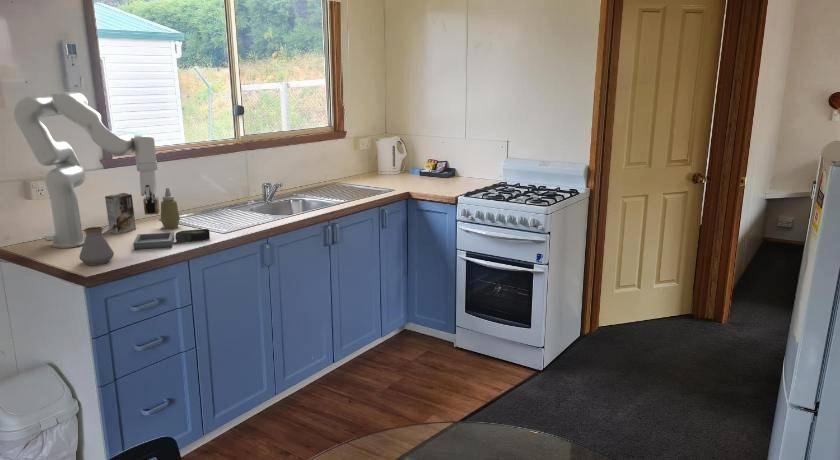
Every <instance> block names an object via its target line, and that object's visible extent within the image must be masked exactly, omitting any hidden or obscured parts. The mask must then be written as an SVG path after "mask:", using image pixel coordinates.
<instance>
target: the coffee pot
mask: <svg viewBox="0 0 840 460" xmlns="http://www.w3.org/2000/svg"><path fill="white" fill-rule="evenodd" d="M131 217H132V216H129V217H128V218H125V220H122V221H120V222H119V223H117V224H116V225H115V226H113V227H112V228H111V229H109V228H108V229H107V230H106V231H104V228H103V227H102V226H92V227H91V226H90V227H86V228H84V229H83V232H85V235H86V236H85V237H84V238H85V241H84V244H83V245H82V247H81V251H80V253H79V260H80V261H82V263H84V264H86V265H87V264H88V265H87V266H100V265H99V264H101V265H105V264H107V262H108V263H109V262H110V261H111V259H112V258H113V257H114V255H115V252H114V250H113V249H112V247H111V246H110V245H109V242H108V241H107V239H106V238H105V236H106V235H107V234H109V233H111V232H110V231H112V230H113V229H115V228H117V227H118V226H120V225H122V224H123V223H124V222H125V221H128V219H131ZM132 218H133V217H132ZM133 219H134V218H133ZM131 220H132V219H131ZM103 231H104V232H103ZM104 263H105V264H104Z"/></svg>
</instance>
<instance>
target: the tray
mask: <svg viewBox="0 0 840 460" xmlns="http://www.w3.org/2000/svg"><path fill="white" fill-rule="evenodd" d="M174 241H175V232H174V231H171V232H169V231H168V232H151V233H150V232H149V233H138V234H137V235H136V237H135V239H134V241H133V243H132V244H133V245H132V246H133V251H142V250H143V251H145V250H158V249H159V250H160V249H172V248H173V245H174V244H173V242H174Z"/></svg>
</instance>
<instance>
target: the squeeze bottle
mask: <svg viewBox="0 0 840 460" xmlns="http://www.w3.org/2000/svg"><path fill="white" fill-rule="evenodd" d="M160 221H161V223H162V226H163V228H164V229H175V228H176V229H177V227H179V223H180V221H181V219H180V213H179V208H178V202H177V201H176V200H175V196H174V195H172V194H171V191H170V188H169V187H166V188H165V194H164V195H162V201H161V202H160Z"/></svg>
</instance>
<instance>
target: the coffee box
mask: <svg viewBox="0 0 840 460" xmlns="http://www.w3.org/2000/svg"><path fill="white" fill-rule="evenodd" d="M104 198H105V205H106V213H107V214H106V215H107V222H108V223H107V224H108V230H109V229H111V228H112V227H113V226H115V225H116V224H117V223H119V222H120V221H122V220H125V218H128V217H129V216H132V217H133V218H134V219H133V218H132V217H131V219H132V220H131V219H128V221H125V222H124V223H123V224H122V225H120V226H118V227H117V228H115V229H113V230H112V231H110V232H109V233H113V234H118V235H119V234H122V233H127V232H130V231H134V230H135V231H136V230H137V226H136V220H135V219H136V218H135V211H134V204H133V194H131V193H125V192H121V193H116V194H110V195H106V196H104Z"/></svg>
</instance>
